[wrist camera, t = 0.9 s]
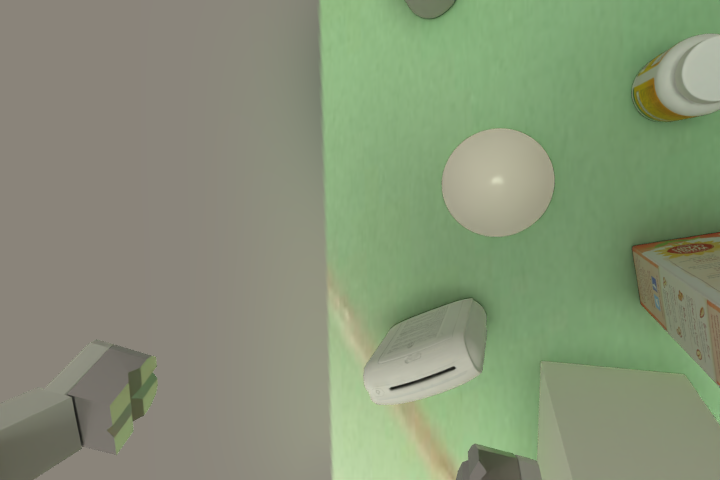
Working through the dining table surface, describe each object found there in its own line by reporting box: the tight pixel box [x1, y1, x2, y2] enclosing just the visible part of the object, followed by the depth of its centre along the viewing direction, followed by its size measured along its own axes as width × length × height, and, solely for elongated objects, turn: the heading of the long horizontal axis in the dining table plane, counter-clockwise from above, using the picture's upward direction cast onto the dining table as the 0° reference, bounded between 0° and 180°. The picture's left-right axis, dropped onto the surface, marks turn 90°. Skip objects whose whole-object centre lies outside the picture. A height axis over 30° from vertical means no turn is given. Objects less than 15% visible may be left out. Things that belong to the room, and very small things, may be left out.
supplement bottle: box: [632, 34, 720, 122], centre depth 32 cm, size 5×5×10 cm
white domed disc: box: [442, 128, 555, 237], centre depth 42 cm, size 10×10×1 cm
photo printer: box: [363, 298, 487, 405], centre depth 40 cm, size 10×4×12 cm, turn 117°
